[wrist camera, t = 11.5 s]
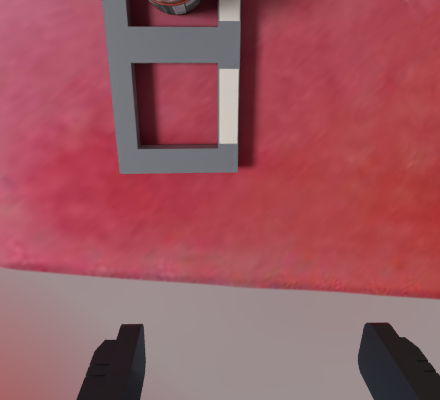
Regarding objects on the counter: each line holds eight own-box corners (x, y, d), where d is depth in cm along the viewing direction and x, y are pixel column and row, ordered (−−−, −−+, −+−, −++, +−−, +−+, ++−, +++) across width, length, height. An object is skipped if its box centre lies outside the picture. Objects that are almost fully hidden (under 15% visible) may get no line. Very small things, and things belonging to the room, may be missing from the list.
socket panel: (240, -108, 30) (243, -120, 29) (235, 166, 39) (237, 172, 37) (96, -112, 30) (89, -124, 28) (123, 168, 38) (119, 173, 36)
